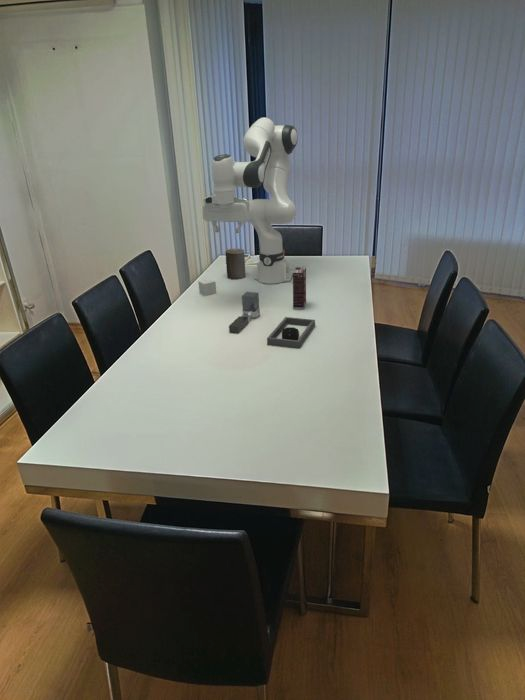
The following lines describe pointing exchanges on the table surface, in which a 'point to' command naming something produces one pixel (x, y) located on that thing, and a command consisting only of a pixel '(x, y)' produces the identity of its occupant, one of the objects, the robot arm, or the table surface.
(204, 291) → the light grey cube
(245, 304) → the blue gray block
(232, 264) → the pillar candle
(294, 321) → the gray rectangular frame
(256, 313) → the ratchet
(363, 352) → the table surface
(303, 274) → the supplement box
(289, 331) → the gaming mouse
